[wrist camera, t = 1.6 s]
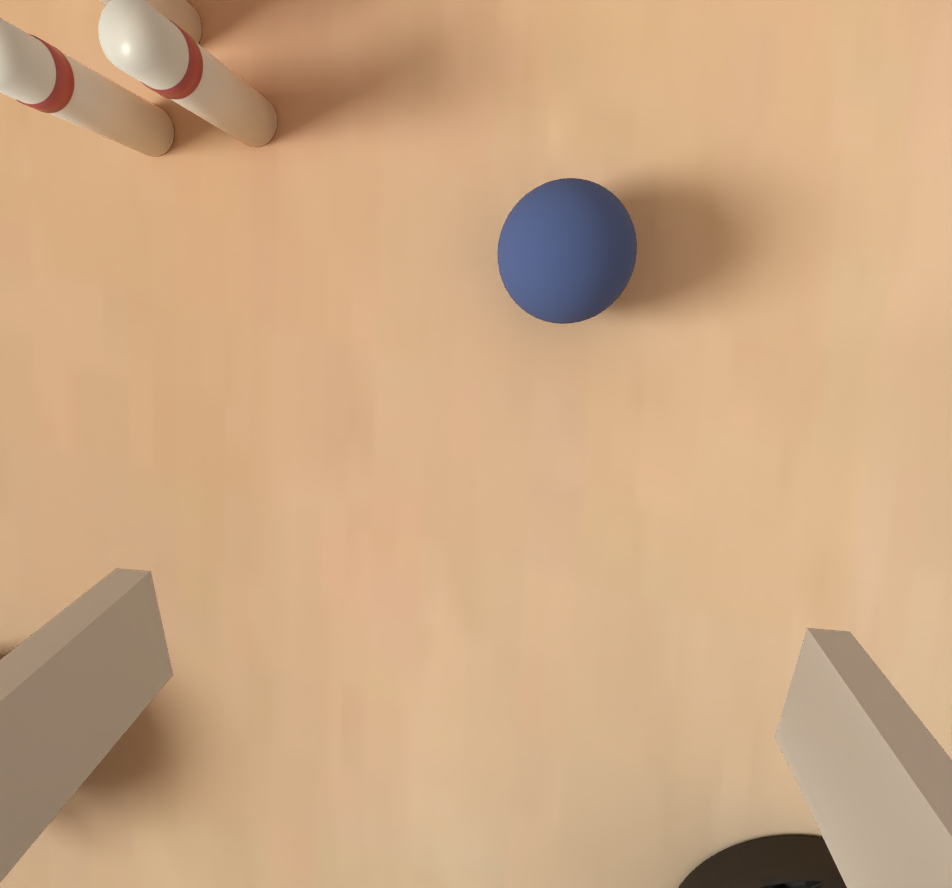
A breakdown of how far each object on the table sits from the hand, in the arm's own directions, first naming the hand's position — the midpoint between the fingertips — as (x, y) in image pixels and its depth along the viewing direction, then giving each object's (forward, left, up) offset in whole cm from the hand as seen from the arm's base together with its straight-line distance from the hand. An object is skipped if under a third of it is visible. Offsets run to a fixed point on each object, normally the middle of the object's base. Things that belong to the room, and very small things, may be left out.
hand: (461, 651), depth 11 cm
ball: (+2, -10, -16) cm, 19 cm away
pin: (+24, -7, -19) cm, 31 cm away
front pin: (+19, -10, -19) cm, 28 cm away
